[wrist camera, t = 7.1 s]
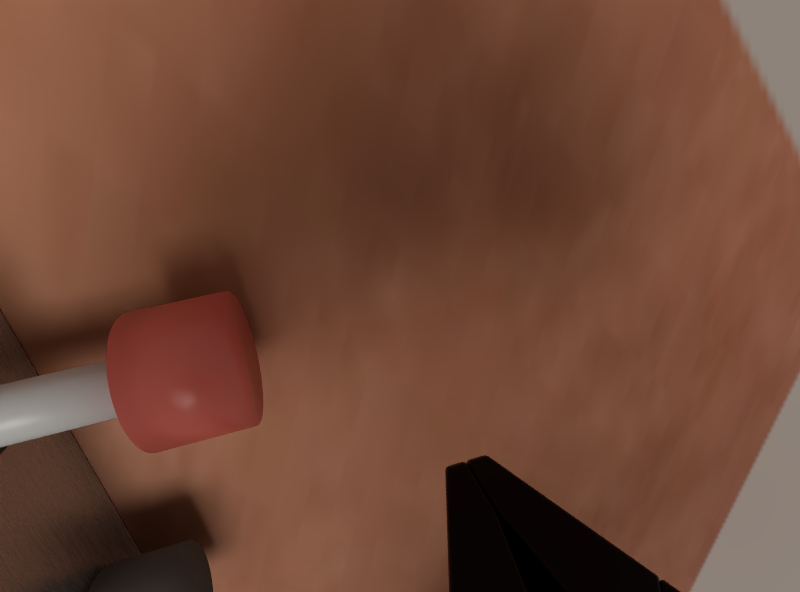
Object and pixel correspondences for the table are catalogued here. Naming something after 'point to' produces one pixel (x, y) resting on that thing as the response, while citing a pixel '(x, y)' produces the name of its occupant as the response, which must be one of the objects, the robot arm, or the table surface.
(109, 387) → the red knob
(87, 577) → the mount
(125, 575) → the black knob
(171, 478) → the table surface
